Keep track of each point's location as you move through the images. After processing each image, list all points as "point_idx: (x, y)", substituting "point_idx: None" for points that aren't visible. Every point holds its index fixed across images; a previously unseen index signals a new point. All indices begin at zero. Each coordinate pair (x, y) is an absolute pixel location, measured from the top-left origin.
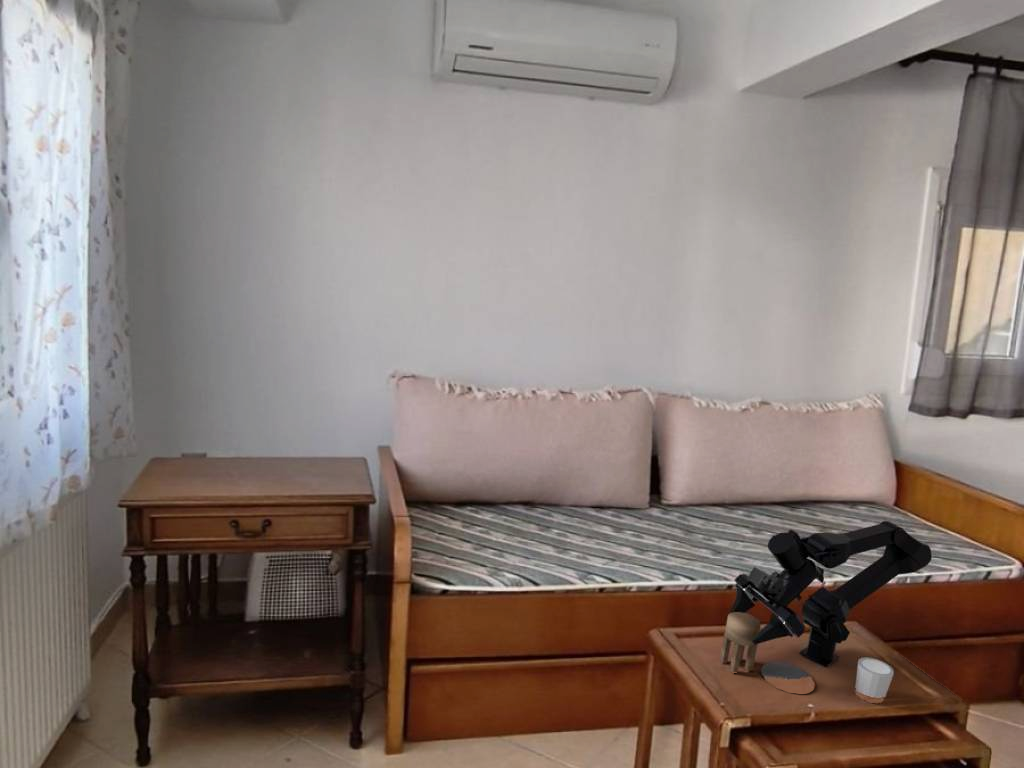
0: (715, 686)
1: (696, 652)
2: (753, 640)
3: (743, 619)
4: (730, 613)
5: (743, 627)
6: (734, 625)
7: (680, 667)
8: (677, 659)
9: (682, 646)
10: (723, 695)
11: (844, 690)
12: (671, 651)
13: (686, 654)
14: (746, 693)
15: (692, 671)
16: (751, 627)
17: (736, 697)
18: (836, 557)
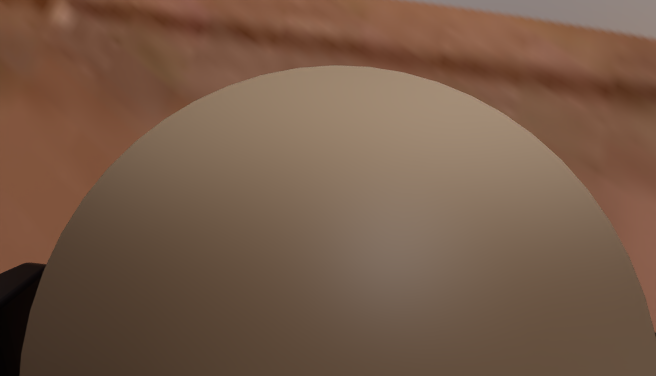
0: (195, 76)
1: None
2: (22, 266)
3: (369, 350)
4: (618, 246)
5: (139, 142)
6: (280, 86)
7: (411, 7)
8: (488, 38)
9: (618, 150)
10: (111, 65)
11: None
12: (572, 54)
13: (527, 119)
14: (65, 206)
15: (359, 45)
16: (82, 293)
17: (64, 121)
18: None
